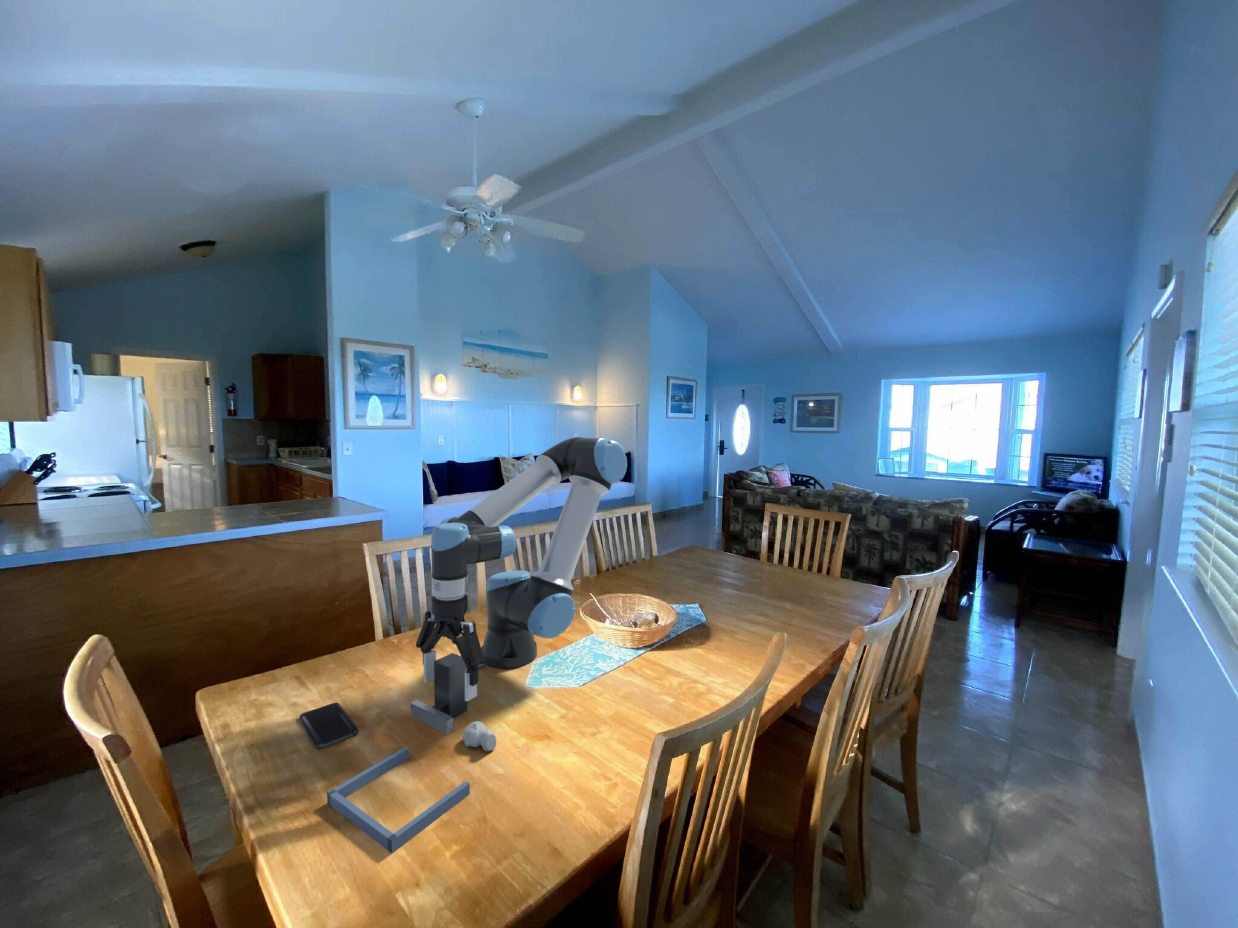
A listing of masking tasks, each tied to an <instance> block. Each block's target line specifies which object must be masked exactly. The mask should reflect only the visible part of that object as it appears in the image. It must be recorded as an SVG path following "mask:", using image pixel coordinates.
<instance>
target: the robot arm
mask: <svg viewBox="0 0 1238 928" xmlns="http://www.w3.org/2000/svg"><path fill="white" fill-rule="evenodd" d="M627 468H628V457H627V456H626V452H625V450H624V448H623V446H622V445H621V444H620V443H619V442H617V441H616V440H613V439H610V438H609V439H608V438H605V437H602V438H595V437H593V438H592V437H578V436H577V437H570V438H568V439H567V438H566V439H565V440H562V441H560V442H558V443H556V444H555V445H552V446H551V447H550V448H548V449H547V450H545V451H544V452H542V453H541V454H540V455H537V457H536V459H535V462H534V463H533V464H532V465H530V466H529V467H527V468H526V469H525V470H523V471H522V472H520V473H519V474H518V475H516V476H515V477H513V478H511V480H509V481H508V482H506V483H505V484H503V485H502V486H501V487H499V488H498V489H496V490H495V491H494V492H492V493H491V494H490V495H487V497H485V498H484V499H482V500H481V501H479V502H478V503H477V504H475V505H474V506H473V507H471V508H470V509H468V510H467V511H466V512H464V513H463V514H461V515H460V516H458V517H457V516H454V517H453V516H451V517H447V518H445V519H443V520H442V521H441V522H440V523H439V524H437V525H435V526H434V527H433V528H432V532H431V540H430V541H431V542H430V543H431V544H430V549H431V595H432V597H431V610H428V611H425V613H424V621H423V624H422V626H421V630H420V632H419V635H418V637H417V639H416V643H415V647H416V648H417V649H420V651H421V653H422V664H423V665H422V666H423V683H428V682H430V681H432V680H433V681H434V661H436V660H437V650H435V648H436V646H437V644H438V642H439V641H440V640H441V638H442V637H443V638H447V639H448V640H451V643H452V645H453V644H454V645H456V648H457V651H458V652H459V654H460V655H459V656H461V657H462V659H463V661H464V663H465V665H466V667H467V669H468V670H466V671H465V701H468V702H469V701H470V700H473V699H475V698H476V697H478V685H479V680H480V678H479V671H480V670H483V669H484V668H486V667H487V666H489V667H491V668H497V669H512V668H518V667H521V666H525V665H527V664H529V663H531V662H533V661H534V660H535V659H536V657H537V655H538V644H537V642H536V641H535V636H537V637H540V638H543V639H547V640H549V639H554V638H557V637H558V636H560V634H563V633H564V632H566V631H567V629H568V628H569V627H570V625H571V623H572V622H573V620H574V618H575V613H576V607H575V601H574V599H573V598H572V594H573V593H574V588H573V585H572V582H571V581H572V577H573V575H574V572H575V570H576V568H577V564H578V562H579V560H580V559H579V558H580V557H581V553H582V551H583V548H584V545H585V542H586V540H587V537H588V535H589V532H590V529H591V527H592V523H593V520H594V518H595V515H596V513H597V509H598V507H599V505H600V501H601V499H602V498H603V496H605V495H608V494H609V493H610V491H611V488H612V485H613V484H617V483H619V482H620V481H621V480H623V478H624V477H625V475H626V472H627ZM567 479H569V481H570V482H569V483H570V484H571V488H570V490H569V492H568V494H567V497H566V501H565V502H564V505H563V507H562V510H561V513H560V515H559V518H558V520H557V522H556V525H555V528H554V531H553V533H552V536H551V539H550V541H549V544H548V547H547V549H546V551H545V554H544V557H543V560H542V562H541V564H540V567H539V569H538V570H537V571H535V572H532V573H531V572H529V571H527V570H509V571H502V572H498V573H496V574H492V575H491V576H490V577H488V579H487V581H486V582H487V584H486V591H485V592H486V611H487V612H486V617H487V619H486V620H487V621H486V623H487V625H486V626H487V629H486V633H485V636H484V638H483V639H484V640H483V644H482V646H481V643H480V640H479V637H478V634H477V624H476V622H475V621H470V622H468V621H467V622H466V619H465V616H466V615H465V614H466V613H467V612H468V609H469V607H468V606H469V604H468V603H469V602H468V599H469V598H468V597H469V595H468V594H467V593H468V591H469V580H468V579H469V572H468V571H469V566H470V565H475V564H481V563H485V562H491V561H495V560H499V561H500V560H501V559H504V558H507V557H510V556H512V555H513V554H514V553H515V551H516V548H517V537H516V534H515V532H514V530H513V529H512V527H510V526H508V525H501V523H502V522H504V521H505V520H506V519H507V518H509V517H510V516H512V515H513V514H515V513H516V512H517V511H518V510H519V509H521V508H522V507H523V506H524V505H526V504H528V503H529V502H530V501H531V500H533V499H534V498H536V497H537V496H538V495H539V494H541V493H542V492H544V490H547V488H548V487H550V486H551V485H555V486H556V485H559V484H561V482H562V481H564V480H567ZM460 635H461V636H460Z"/></svg>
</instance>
